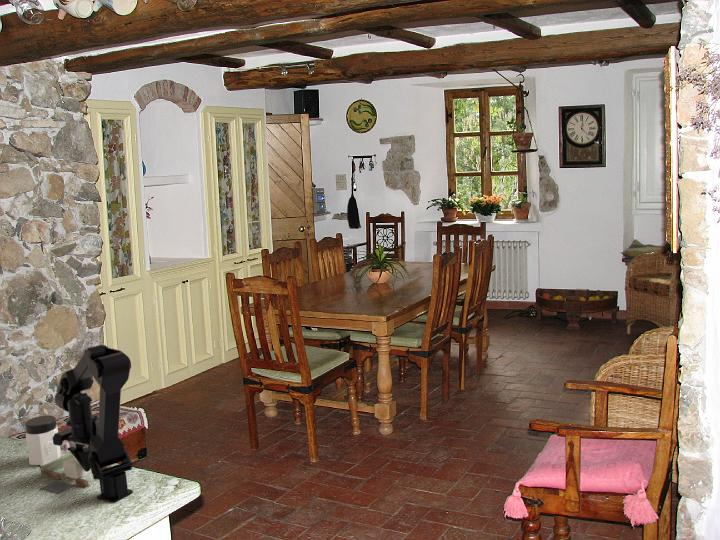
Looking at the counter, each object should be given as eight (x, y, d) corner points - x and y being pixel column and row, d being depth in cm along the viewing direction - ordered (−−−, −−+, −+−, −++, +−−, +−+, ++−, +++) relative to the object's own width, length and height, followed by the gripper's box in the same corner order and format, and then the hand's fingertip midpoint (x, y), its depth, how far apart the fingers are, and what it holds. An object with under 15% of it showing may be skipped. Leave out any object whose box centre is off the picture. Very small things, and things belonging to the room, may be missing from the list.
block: (92, 471, 206) (90, 457, 206) (77, 479, 202) (75, 465, 201) (79, 468, 209) (78, 455, 208) (64, 475, 204) (63, 462, 204)
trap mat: (73, 485, 198) (73, 484, 198) (58, 493, 194) (57, 492, 194) (56, 480, 202) (56, 480, 202) (40, 488, 197) (40, 487, 197)
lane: (115, 472, 205) (114, 463, 205) (85, 487, 196) (84, 478, 196) (71, 461, 214) (70, 452, 214) (41, 475, 206) (40, 466, 205)
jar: (35, 469, 210) (29, 428, 208) (24, 461, 216) (19, 421, 214) (66, 458, 216) (61, 419, 214) (55, 451, 222) (50, 412, 220)
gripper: (128, 410, 202) (134, 465, 205) (81, 401, 212) (88, 453, 215) (95, 425, 193) (102, 481, 196) (48, 415, 202) (55, 469, 205)
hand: (87, 470), depth 203 cm, fingers closed
